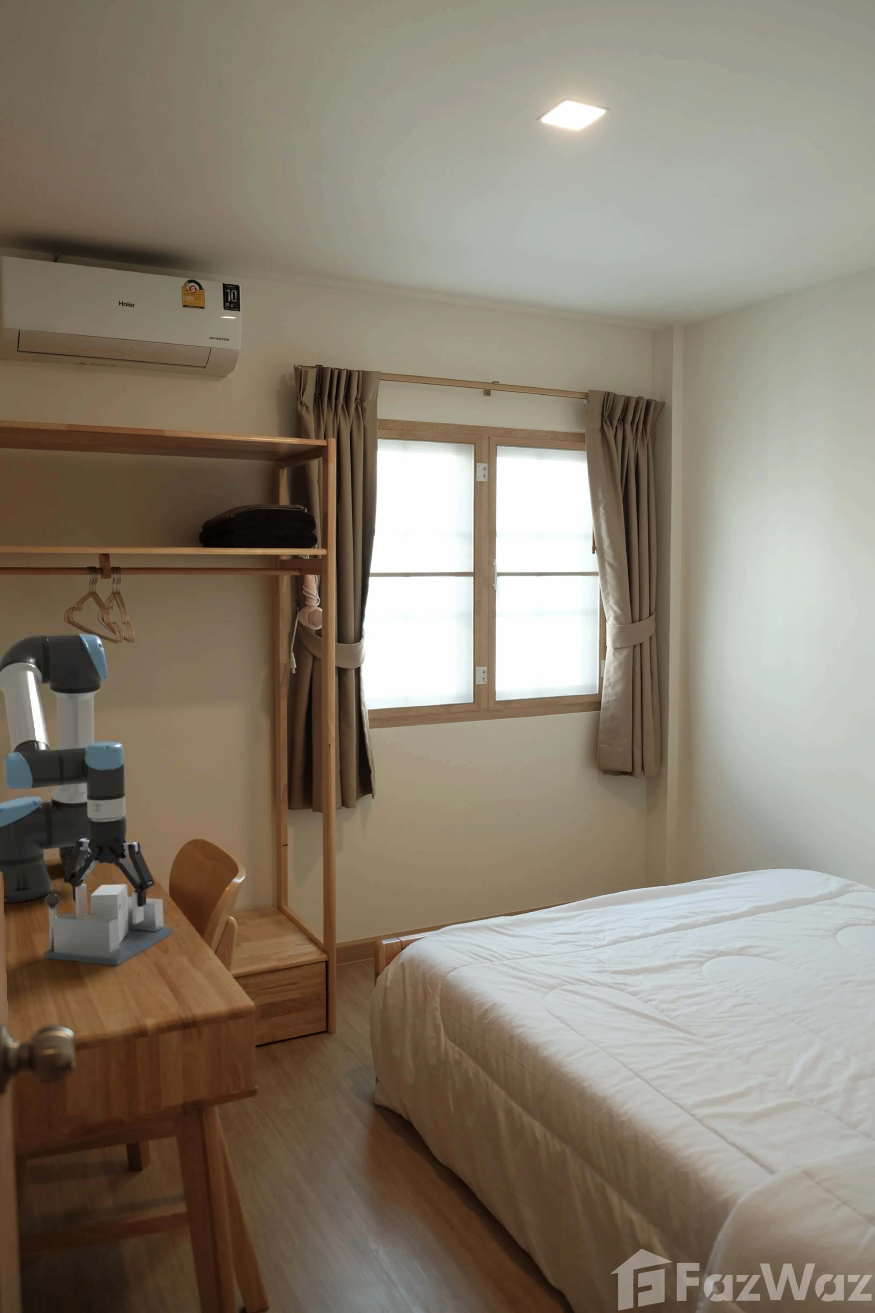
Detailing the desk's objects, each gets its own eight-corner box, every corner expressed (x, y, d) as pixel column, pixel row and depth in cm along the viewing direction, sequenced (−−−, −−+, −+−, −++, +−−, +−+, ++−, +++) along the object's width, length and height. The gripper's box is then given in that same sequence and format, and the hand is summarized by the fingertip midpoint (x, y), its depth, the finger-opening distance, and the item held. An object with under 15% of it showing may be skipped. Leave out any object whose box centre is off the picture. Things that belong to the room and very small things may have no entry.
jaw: (111, 922, 217) (110, 895, 216) (163, 927, 213) (162, 899, 213) (102, 926, 214) (101, 899, 213) (155, 931, 210) (154, 903, 210)
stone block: (95, 873, 264) (92, 798, 263) (59, 876, 261) (56, 801, 260) (96, 857, 281) (94, 787, 280) (62, 860, 278) (60, 789, 278)
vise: (102, 927, 218) (100, 870, 217) (173, 933, 213) (171, 875, 212) (41, 957, 199) (39, 895, 198) (117, 965, 194) (115, 901, 193)
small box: (102, 933, 210) (100, 884, 209) (129, 932, 210) (127, 883, 209) (90, 946, 202) (89, 895, 201) (118, 945, 202) (117, 894, 201)
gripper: (43, 818, 204) (47, 919, 206) (149, 824, 197) (152, 929, 198) (67, 811, 212) (70, 909, 213) (169, 816, 204) (172, 918, 206)
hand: (109, 919), depth 206 cm, fingers open, 13 cm apart
